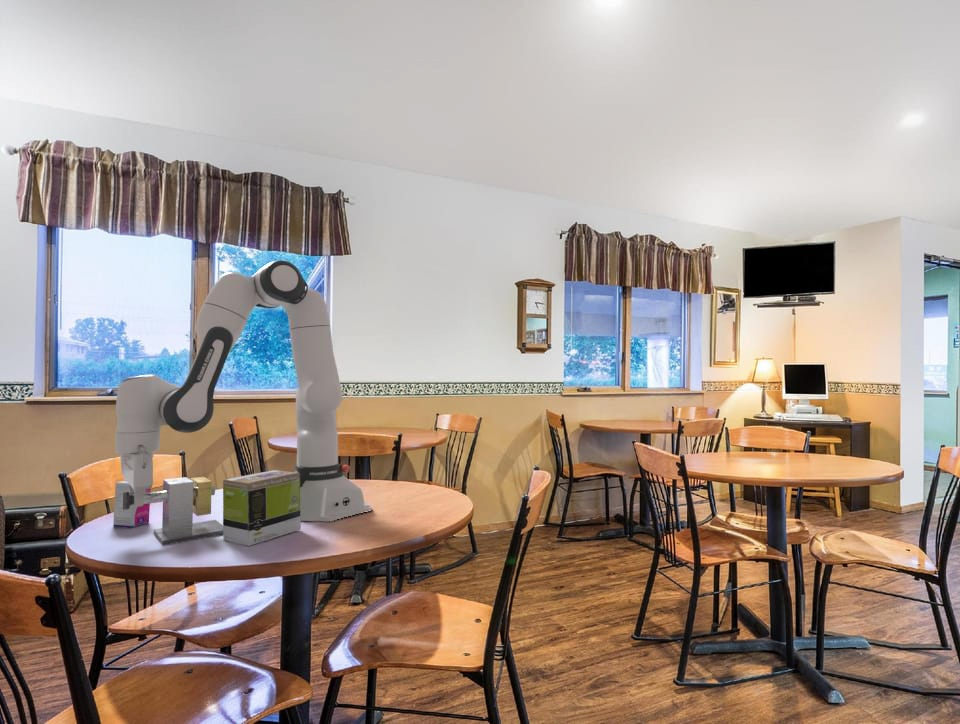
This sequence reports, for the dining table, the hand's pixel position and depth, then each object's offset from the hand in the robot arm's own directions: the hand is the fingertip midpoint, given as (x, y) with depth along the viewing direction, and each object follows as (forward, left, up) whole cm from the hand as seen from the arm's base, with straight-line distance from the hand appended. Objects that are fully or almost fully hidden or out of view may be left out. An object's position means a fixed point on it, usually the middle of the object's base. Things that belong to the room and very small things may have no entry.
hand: (136, 503), depth 121 cm
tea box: (-24, +13, -9) cm, 29 cm away
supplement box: (-1, -19, -9) cm, 21 cm away
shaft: (-7, 0, -1) cm, 7 cm away
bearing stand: (-11, 0, -9) cm, 15 cm away
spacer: (-13, 0, -4) cm, 14 cm away
